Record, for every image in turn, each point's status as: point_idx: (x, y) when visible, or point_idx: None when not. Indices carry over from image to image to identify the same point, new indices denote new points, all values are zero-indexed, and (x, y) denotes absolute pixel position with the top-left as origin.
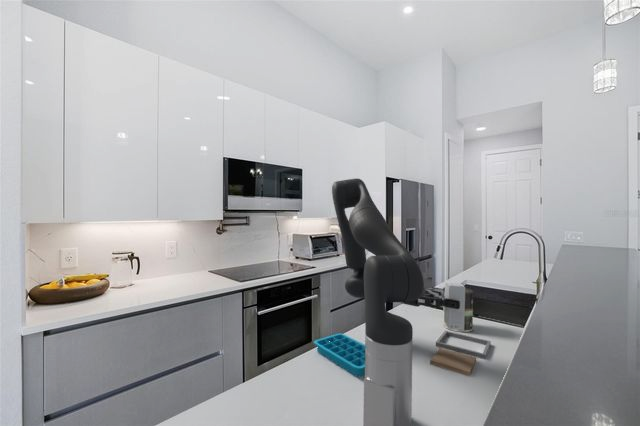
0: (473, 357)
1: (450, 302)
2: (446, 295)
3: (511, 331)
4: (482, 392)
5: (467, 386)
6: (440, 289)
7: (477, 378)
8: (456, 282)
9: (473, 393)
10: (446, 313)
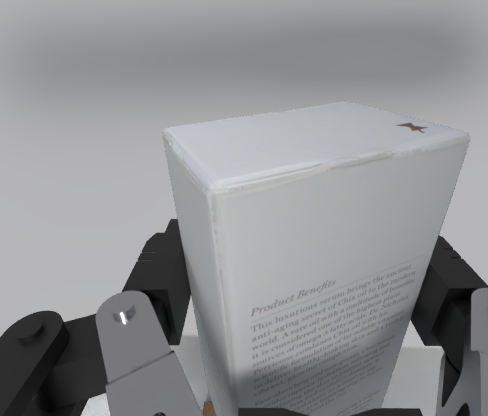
0: (207, 410)
1: (459, 263)
2: (335, 301)
3: None
4: (400, 361)
5: (412, 403)
6: (125, 410)
7: None
8: (206, 130)
9: (431, 381)
10: (335, 404)
